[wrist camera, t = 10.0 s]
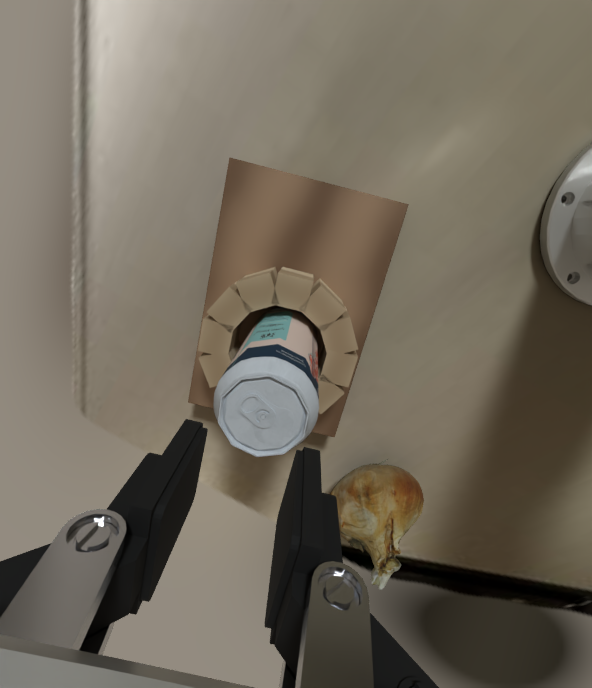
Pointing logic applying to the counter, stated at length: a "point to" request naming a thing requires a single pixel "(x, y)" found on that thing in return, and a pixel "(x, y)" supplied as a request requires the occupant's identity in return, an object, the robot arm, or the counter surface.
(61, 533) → the robot arm
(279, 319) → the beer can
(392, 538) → the onion
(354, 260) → the board
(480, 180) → the counter surface
